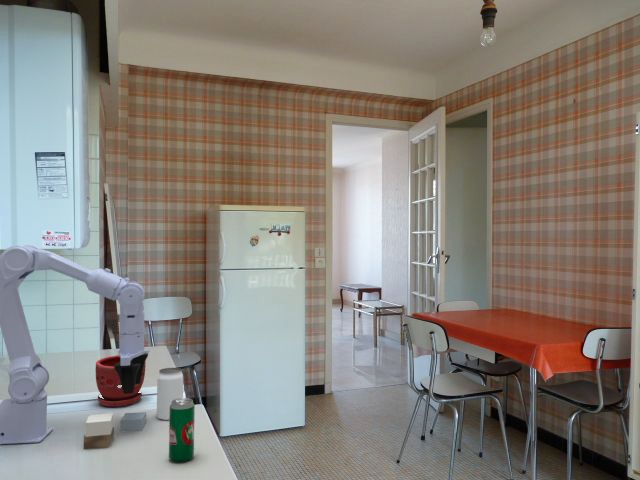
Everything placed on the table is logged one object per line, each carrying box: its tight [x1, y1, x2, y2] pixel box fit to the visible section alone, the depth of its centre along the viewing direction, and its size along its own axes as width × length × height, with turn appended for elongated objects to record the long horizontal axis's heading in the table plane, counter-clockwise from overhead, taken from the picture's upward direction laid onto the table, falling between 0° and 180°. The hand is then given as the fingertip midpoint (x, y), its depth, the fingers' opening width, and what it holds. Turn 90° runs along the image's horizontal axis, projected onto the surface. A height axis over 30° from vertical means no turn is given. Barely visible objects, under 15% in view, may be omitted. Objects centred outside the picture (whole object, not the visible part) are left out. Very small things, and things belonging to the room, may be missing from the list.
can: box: [156, 367, 184, 421], centre depth 127 cm, size 6×6×12 cm
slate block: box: [119, 411, 147, 433], centre depth 120 cm, size 5×5×3 cm
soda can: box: [168, 397, 196, 464], centre depth 103 cm, size 5×5×12 cm
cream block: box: [85, 412, 114, 437], centre depth 110 cm, size 5×5×3 cm
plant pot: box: [95, 354, 146, 407], centre depth 138 cm, size 13×13×12 cm
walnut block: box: [83, 426, 115, 450], centre depth 109 cm, size 5×5×3 cm
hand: (132, 388), depth 119 cm, fingers open, 7 cm apart
